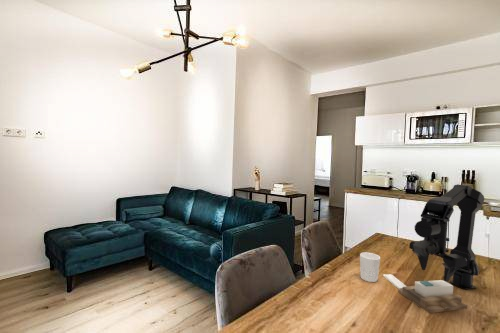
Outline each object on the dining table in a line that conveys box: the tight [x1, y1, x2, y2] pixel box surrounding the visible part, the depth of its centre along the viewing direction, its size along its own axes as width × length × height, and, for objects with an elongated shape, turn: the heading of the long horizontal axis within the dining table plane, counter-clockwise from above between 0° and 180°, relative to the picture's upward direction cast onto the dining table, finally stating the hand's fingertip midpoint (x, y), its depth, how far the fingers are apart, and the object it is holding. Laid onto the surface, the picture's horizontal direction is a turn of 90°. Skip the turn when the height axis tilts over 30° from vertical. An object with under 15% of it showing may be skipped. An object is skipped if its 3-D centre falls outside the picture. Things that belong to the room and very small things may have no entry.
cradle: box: [397, 284, 468, 314], centre depth 98 cm, size 16×14×3 cm
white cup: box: [359, 251, 381, 283], centre depth 114 cm, size 8×8×10 cm
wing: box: [382, 273, 407, 289], centre depth 111 cm, size 4×12×1 cm, turn 3°
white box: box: [414, 279, 454, 298], centre depth 98 cm, size 12×4×5 cm, turn 99°
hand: (434, 275), depth 98 cm, fingers open, 9 cm apart
